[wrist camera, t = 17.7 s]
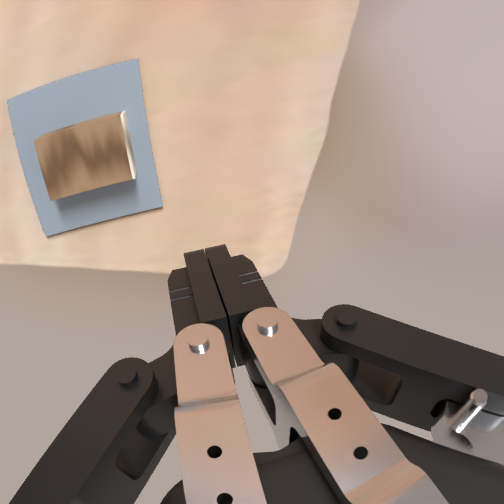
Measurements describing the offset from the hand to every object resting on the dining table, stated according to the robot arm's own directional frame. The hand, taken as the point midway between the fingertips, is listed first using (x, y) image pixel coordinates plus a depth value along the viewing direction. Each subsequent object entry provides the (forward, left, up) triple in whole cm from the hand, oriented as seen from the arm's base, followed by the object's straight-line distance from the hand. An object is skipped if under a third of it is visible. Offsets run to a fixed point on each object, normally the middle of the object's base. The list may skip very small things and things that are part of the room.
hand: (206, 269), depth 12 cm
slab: (0, -14, -25) cm, 29 cm away
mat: (0, -10, -27) cm, 29 cm away
